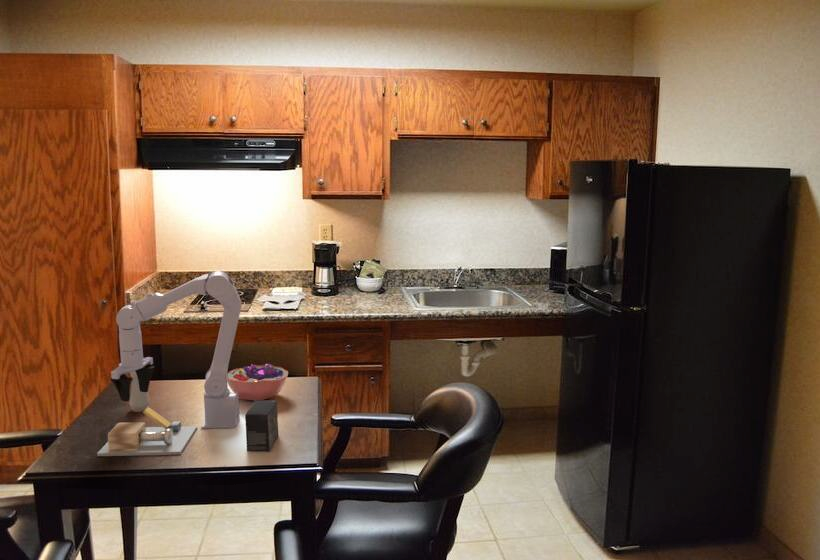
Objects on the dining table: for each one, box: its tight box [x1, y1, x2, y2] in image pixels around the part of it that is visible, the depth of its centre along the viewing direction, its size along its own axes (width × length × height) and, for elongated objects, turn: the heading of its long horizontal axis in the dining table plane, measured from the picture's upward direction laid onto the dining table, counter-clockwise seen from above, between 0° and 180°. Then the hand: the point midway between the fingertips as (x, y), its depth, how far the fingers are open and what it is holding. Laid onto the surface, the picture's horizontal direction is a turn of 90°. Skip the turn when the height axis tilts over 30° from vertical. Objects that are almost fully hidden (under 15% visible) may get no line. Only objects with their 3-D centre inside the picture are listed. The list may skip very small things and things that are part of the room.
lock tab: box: [142, 406, 172, 429], centre depth 186 cm, size 8×3×1 cm
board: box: [96, 425, 198, 457], centre depth 180 cm, size 21×17×1 cm
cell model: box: [227, 363, 289, 402], centre depth 214 cm, size 17×20×11 cm
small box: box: [244, 399, 280, 453], centre depth 179 cm, size 11×6×10 cm, turn 178°
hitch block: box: [107, 421, 146, 451], centre depth 176 cm, size 7×8×5 cm
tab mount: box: [170, 420, 182, 432], centre depth 186 cm, size 2×3×2 cm, turn 4°
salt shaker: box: [129, 371, 151, 413], centre depth 203 cm, size 6×6×13 cm
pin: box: [138, 429, 173, 444], centre depth 177 cm, size 12×4×4 cm, turn 94°
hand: (134, 396), depth 187 cm, fingers open, 7 cm apart
